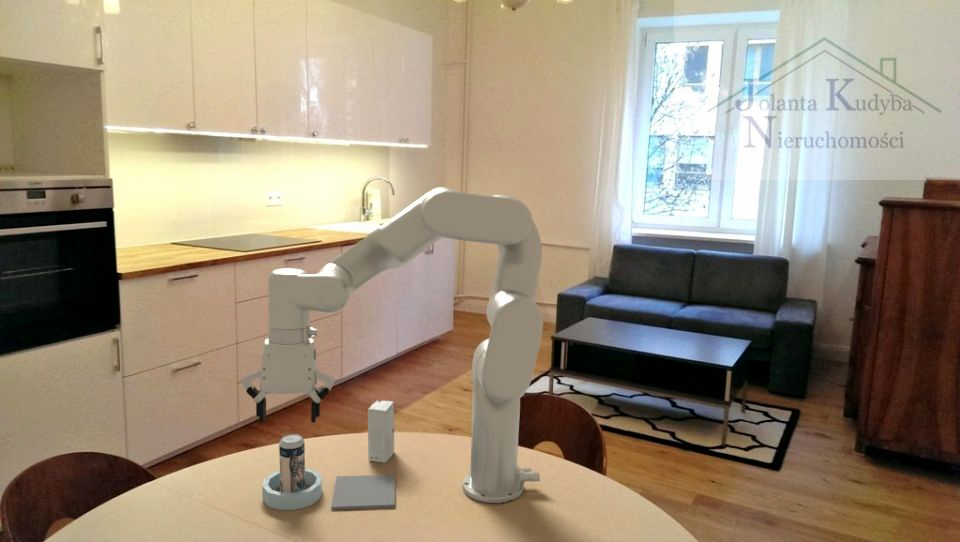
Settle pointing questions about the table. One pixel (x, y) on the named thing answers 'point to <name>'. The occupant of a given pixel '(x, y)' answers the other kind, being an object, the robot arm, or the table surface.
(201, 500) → the table surface
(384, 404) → the skincare box
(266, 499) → the light blue ring
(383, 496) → the mat
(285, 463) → the beer can
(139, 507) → the table surface
